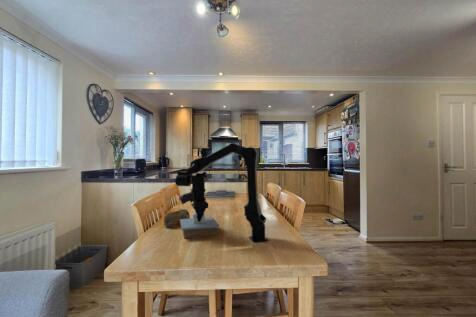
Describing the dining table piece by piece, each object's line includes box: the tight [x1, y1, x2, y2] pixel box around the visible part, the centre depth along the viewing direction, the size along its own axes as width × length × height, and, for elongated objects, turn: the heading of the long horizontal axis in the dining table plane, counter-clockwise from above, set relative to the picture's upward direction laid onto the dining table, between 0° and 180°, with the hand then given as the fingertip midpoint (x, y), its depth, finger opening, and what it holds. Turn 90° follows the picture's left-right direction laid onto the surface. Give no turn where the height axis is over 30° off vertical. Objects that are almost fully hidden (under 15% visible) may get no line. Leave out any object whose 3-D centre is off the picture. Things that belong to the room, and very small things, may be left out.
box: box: [181, 227, 218, 240], centre depth 116 cm, size 14×14×5 cm
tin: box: [163, 208, 191, 229], centre depth 130 cm, size 15×3×8 cm, turn 143°
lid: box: [180, 212, 220, 230], centre depth 116 cm, size 16×16×5 cm
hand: (198, 220), depth 116 cm, fingers closed on lid, 3 cm apart
